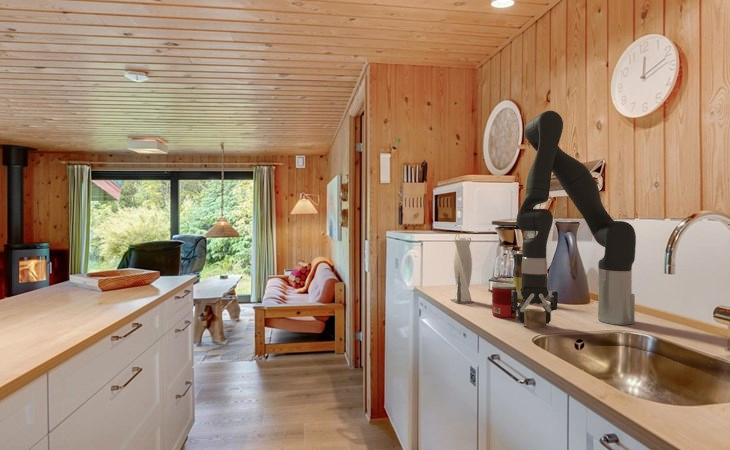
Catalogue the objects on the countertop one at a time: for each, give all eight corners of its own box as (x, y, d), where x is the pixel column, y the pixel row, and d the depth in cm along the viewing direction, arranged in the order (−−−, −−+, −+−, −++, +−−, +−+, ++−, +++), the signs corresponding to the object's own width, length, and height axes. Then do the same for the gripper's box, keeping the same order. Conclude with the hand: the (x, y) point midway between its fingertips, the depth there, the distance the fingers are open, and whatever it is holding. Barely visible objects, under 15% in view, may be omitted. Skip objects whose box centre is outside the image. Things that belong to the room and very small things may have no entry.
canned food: (516, 319, 130) (516, 287, 130) (492, 318, 133) (492, 286, 133) (515, 314, 138) (515, 283, 137) (492, 312, 140) (492, 282, 140)
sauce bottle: (527, 299, 161) (527, 252, 161) (532, 303, 155) (532, 253, 154) (510, 299, 162) (510, 252, 161) (515, 303, 156) (515, 253, 155)
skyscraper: (448, 299, 163) (448, 233, 162) (466, 298, 165) (465, 233, 164) (458, 303, 155) (458, 234, 154) (476, 302, 157) (476, 234, 156)
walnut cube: (539, 324, 125) (539, 308, 125) (545, 328, 120) (545, 312, 120) (523, 324, 126) (523, 308, 125) (529, 328, 121) (529, 312, 120)
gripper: (552, 270, 126) (552, 320, 126) (507, 269, 127) (507, 319, 127) (562, 273, 118) (562, 326, 119) (515, 273, 119) (514, 326, 120)
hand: (534, 322), depth 123 cm, fingers open, 7 cm apart
